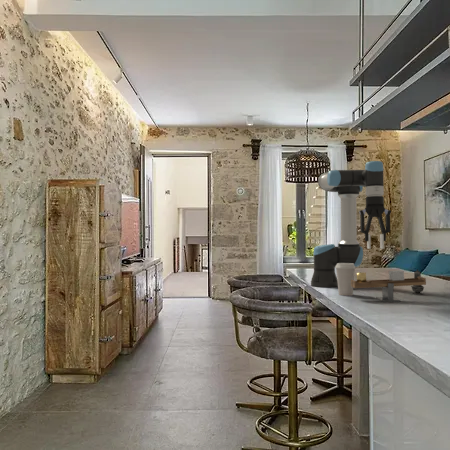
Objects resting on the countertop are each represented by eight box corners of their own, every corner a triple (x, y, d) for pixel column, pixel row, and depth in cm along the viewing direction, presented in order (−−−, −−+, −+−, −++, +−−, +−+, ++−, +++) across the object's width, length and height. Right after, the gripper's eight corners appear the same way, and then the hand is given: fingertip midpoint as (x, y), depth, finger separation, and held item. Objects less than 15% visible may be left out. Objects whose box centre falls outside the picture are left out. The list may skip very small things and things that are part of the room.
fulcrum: (375, 298, 185) (375, 281, 185) (393, 298, 184) (393, 281, 185) (381, 301, 176) (381, 283, 176) (400, 302, 175) (400, 283, 176)
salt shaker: (414, 292, 203) (413, 268, 203) (426, 294, 198) (426, 269, 198) (409, 294, 199) (408, 269, 199) (421, 295, 194) (420, 270, 195)
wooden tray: (351, 286, 185) (350, 279, 185) (419, 282, 183) (419, 276, 183) (354, 288, 178) (354, 281, 178) (426, 284, 176) (425, 278, 176)
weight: (356, 283, 184) (355, 272, 184) (365, 283, 183) (364, 272, 183) (358, 284, 180) (357, 273, 180) (367, 284, 179) (366, 272, 179)
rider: (389, 281, 183) (388, 270, 183) (400, 281, 182) (400, 270, 182) (392, 283, 178) (391, 271, 178) (404, 282, 178) (403, 271, 178)
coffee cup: (357, 296, 192) (356, 264, 192) (336, 295, 194) (335, 264, 194) (354, 293, 201) (354, 263, 202) (334, 293, 203) (334, 262, 204)
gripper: (355, 195, 179) (356, 249, 178) (398, 195, 177) (399, 248, 177) (352, 197, 186) (352, 248, 186) (392, 196, 185) (393, 248, 184)
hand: (375, 248), depth 181 cm, fingers open, 5 cm apart
